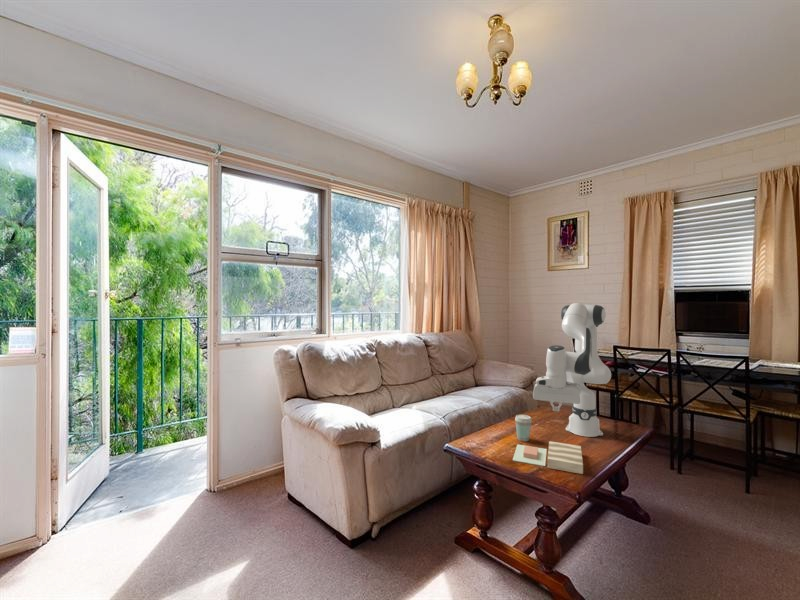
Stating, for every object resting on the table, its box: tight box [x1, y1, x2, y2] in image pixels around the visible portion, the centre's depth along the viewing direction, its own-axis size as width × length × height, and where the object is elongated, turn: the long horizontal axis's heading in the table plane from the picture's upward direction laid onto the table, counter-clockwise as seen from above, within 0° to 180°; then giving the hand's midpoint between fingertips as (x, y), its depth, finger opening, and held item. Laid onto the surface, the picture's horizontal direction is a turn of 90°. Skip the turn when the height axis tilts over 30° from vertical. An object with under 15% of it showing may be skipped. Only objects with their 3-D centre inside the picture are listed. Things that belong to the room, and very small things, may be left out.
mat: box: [511, 443, 548, 467], centre depth 176 cm, size 20×14×1 cm
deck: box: [547, 441, 584, 475], centre depth 170 cm, size 22×14×4 cm, turn 156°
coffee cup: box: [514, 414, 533, 442], centre depth 195 cm, size 8×9×12 cm
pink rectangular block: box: [523, 445, 539, 459], centre depth 176 cm, size 9×6×2 cm, turn 156°
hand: (556, 410), depth 172 cm, fingers closed
